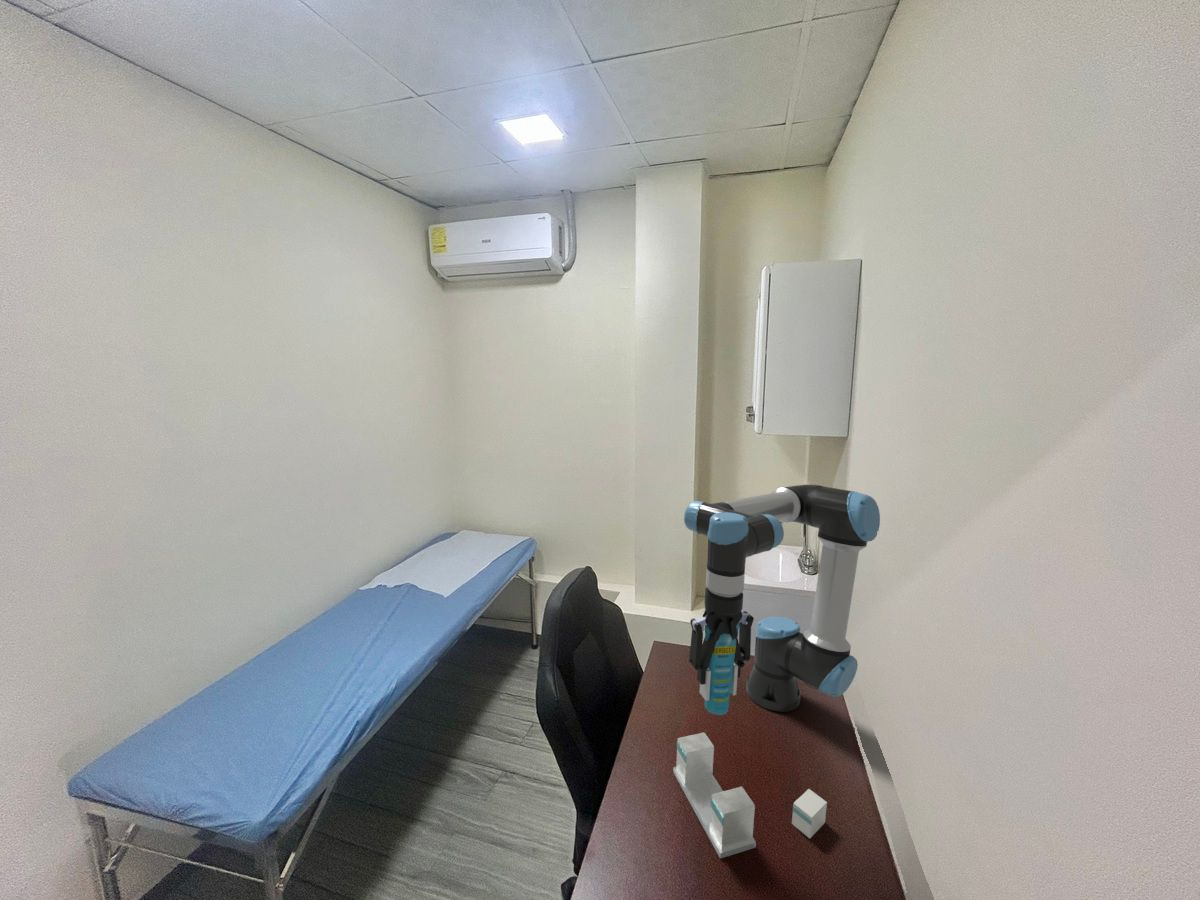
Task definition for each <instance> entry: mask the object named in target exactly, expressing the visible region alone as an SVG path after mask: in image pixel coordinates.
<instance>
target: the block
mask: <svg viewBox="0 0 1200 900" xmlns="http://www.w3.org/2000/svg"><path fill="white" fill-rule="evenodd" d="M827 805H828V802H827V801H826V800H825V799H823V798H822V797H821V796H819V795H818V794H817V793H816V792H814V791H813V790H811V789H810V788H808V789H807V790H805V791H804V793H803V794H802V795H800V796H799V797H798V798H797V799H796V800H795V801H794V802H793V806H792V816H791V817H792V818H791V824H792V825H793V826H794V827H795V828H796V829H798V830H799V831H800V832H801V833H802V834H803V835H805V837H807V838H808V839H811V838H812V837H814V835H815V834H816V833H817V832H818V831H819V830H820V829H821V828H822V827H823V825H824V824H825V823H826V818H827V817H826V816H827Z"/></svg>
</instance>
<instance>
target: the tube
mask: <svg viewBox="0 0 1200 900" xmlns="http://www.w3.org/2000/svg"><path fill="white" fill-rule="evenodd" d="M739 624H740V621H739V623H738V624H737V626H736V628H737V633H738V634H739ZM710 633H713V632H712V631H711V630H710V629H709V627H708V625H707V624H705V625H704V638H705V640H706V641H707V640H708V639H709V635H710ZM713 634H714V633H713ZM735 648H736V639H734V640H732V638H731V635H730V634H722V635H720V638H719V640H718V641H717V642H716V645H715V648H714V651H713V654H712V657H711V660H710V663H709V666H708V668H709V669H710V671H711V678H710V695H709V700H708V701H706V700H705V699H704V707H705V709H706V710H707V712H709V713H710V714H713V715H717V716H722V715H725V714H727V713H728V711H729V706H730V697H731V693H730V689H731V680H732V672H733V664H734V657H735Z"/></svg>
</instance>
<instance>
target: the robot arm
mask: <svg viewBox="0 0 1200 900" xmlns="http://www.w3.org/2000/svg"><path fill="white" fill-rule="evenodd" d="M880 515H881V512H880V508H879V505H878V503H877V501H876V500H875V499H874V497H872V496H870V495H869V494H865V493H861V492H858V491H854V490H848V489H841V488H835V487H829V486H824V485H819V484H797V485H791V486H790V485H789V486H786V487H784V486H783V487H779V488H776V489H774V490H773V491H772V492H771V493H765V494H760V495H754V496H749V497H744V498H738V499H732V500H726V501H721V502H713V503H708V502H706V501H699V500H695V501H692V502H690V503H689V504H688V505H687V507H686V509H685V510H684V516H683V522H684V525H685V528H687V529H688V530H689V531H691V532H694V533H696V534H697V535H702V536H705V537H707V556H706V557H707V559H706V571H705V572H706V576H705V589H704V612H703V613H702V617H700V618H698V619H696V618H691V619H690V622H689V623H690V627H691V639H690V649H689V659H688V662H689V664H690V665H691V666H692V667H693V668H694V670H696V671H697V673H696V678H697V681H698V683H699V694H700V695H701V696H702V698H703V699H704V701H705V700H706V701H708V700H709V695H710V678H711V671H710V669H709V668H708V666H709V663H710V660H711V657H712V654H713V651H714V648H715V645H716V642H717V641H718V640H719V638H720V635H722V634H730V635H731V638H732V640H734V639H736V648H735V657H734V664H733V672H732V680H731V689H730V695H732V696H736V695H737V689H738V687H737V686H738V679H739V678H740V677H741V671H742V668H744V667H745V665H746V664H745V661H746V662H748V661H750V659H751V651H752V650H751V646H752V645H751V644H752V643H751V641H752V626H753V623H754V620H755V618H754V617H753V616H752V615H751V614H750V613H749V612H748V611H743V612H742V610H743V608H744V607H743V605H744V604H743V603H744V593H743V592H744V590H745V576H746V575H745V574H746V573H745V572H746V560H747V558H749V557H753V556H754V555H758V554H761V553H765V552H769V551H772V549H775V548H777V547H778V546H780V544H781V543H782V542H783V540H784V536H785V533H784V532H785V531H784V527H783V525H782V523H785V524H786V523H791V522H792V523H798V524H802V525H807V526H810V527H813V528H817V529H818V532H817V538H818V539H819V540H820V542H821V543H822V548H821V555H820V560H819V562H820V563H819V568H818V574H817V582H816V588H815V593H814V602H813V609H812V613H811V614H812V615H811V621H810V627H809V628H808V629H806V630H804V631H803V633H802V632H800V631H801V626H800V625H799V623H798V622H796V621H795V620H793V619H790V618H787V617H783V616H781V617H780V616H768V617H765V618H762V619H760V621H758V623H757V625H756V632H755V633H754V634H755V635H754V636H755V642H754V644H755V645H754V658H753V659H754V661H753V667H752V669H751V671H750V675H749V676H748V677H747V680H746V685H745V688H746V689H745V690H746V693H747V696H748V697H749V699H751V700H752V701H753V702H754V703H755V704H757V705H758V706H760V707H762V708H764V709H767V710H770V711H774V712H780V713H783V712H784V713H787V712H792V711H794V710H796V709H798V707H799V706H800V703H801V690H800V687H799V683H798V680H800V681H802V682H803V683H805V684H807V685H810V686H811V687H813V688H815V689H816V690H818V691H819V692H820V693H821V692H822V693H823V694H826V695H829V696H831V697H833V698H837V697H840V696H842V695H843V694H845V692H847V690H848V689H849V688H850V686H851V685H852V683H853V681H854V679H855V677H856V674H857V671H858V665H859V664H858V660H857V658H856V657H854V656H853V655H851V647H852V646H851V644H850V643H849V641H848V639H847V638H846V637H847V630H848V624H849V619H850V613H851V612H850V611H851V604H852V599H853V598H852V597H853V592H854V585H855V578H856V572H857V566H858V565H857V564H858V560H859V553H860V551H862V550H863V549H865V548H867V545H868V542H873V540H876V538H877V536H878V532H879V531H880V524H881V516H880ZM781 522H782V523H781ZM739 622H740V624H739V630H738V633H737V628H736V626H737V624H738V623H739ZM705 624H707V625H708V627H709V629H710V630H711V631H712V632H713V633H714V634H713V633H710V635H709V639H708V640H707V641H706V640H705V637H704V632H705ZM797 679H798V680H797Z"/></svg>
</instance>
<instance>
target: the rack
mask: <svg viewBox="0 0 1200 900" xmlns="http://www.w3.org/2000/svg"><path fill="white" fill-rule="evenodd" d="M714 753H715V746H714V743H713V742H712V741H711V740H710V738H709V737H708V736H707V734H706V733H705V732H700V733H695V734H691V735H690V734H689V735H686V736H681V737H677V741H676V763H675V764H676V766H674V767H673V768H672V772H673V775H674V776H675V778H676V780H677V782H678V784H679V786H680V788H681V789H682V791H683V793H684V794H685V797H686V798H687V800H688V802H689V803H690V806H691V808H692V809H693V811H694V813H695V815H696V816H697V819H698V820H699V822H700V824H701V826H702V827H703V830H704V831H705V833H706V835H707V837H708V839H709V841H710V842H711V844H712V846H713V848H714V851H715V852H716V855H718V857H719V859H723V858H726V857H731V856H733V855H737V854H739V853H743V852H747V851H749V850H751V849H756V848H757V847H756V846H757V842H756V840H755V838H754V837H753V836H754V824H755V808H756V805H755V803H754V801H753V800H752V799H751V798H750V796H749V795H748V793H747V792H746V790H745V788H744V787H743V786H738V787H733V788H731V789H728V790H723V789H722V787H721V785H720V784H719V782H718V781H717V779H716V778H715V776H714V775H713V770H714V755H715V754H714Z"/></svg>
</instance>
